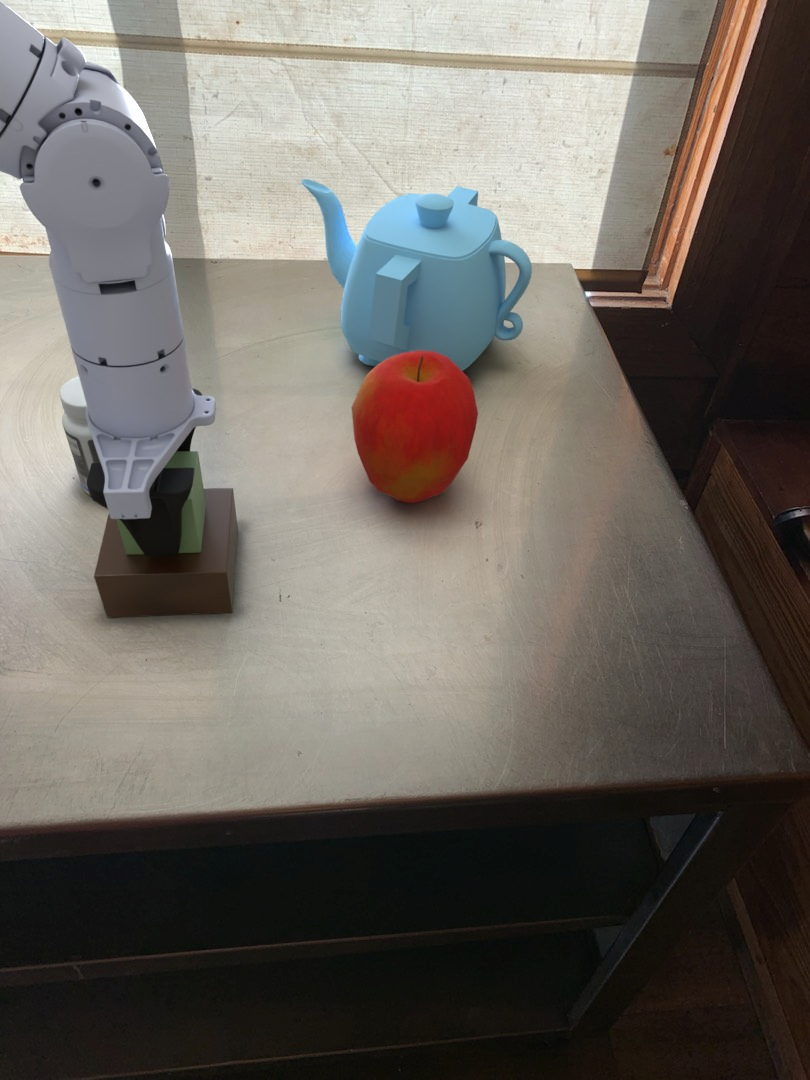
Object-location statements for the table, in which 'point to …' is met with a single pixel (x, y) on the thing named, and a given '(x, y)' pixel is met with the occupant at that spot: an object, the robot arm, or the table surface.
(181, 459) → the green block
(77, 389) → the pill bottle
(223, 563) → the walnut base
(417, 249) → the teapot
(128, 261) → the robot arm
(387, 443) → the apple
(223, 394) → the table surface
